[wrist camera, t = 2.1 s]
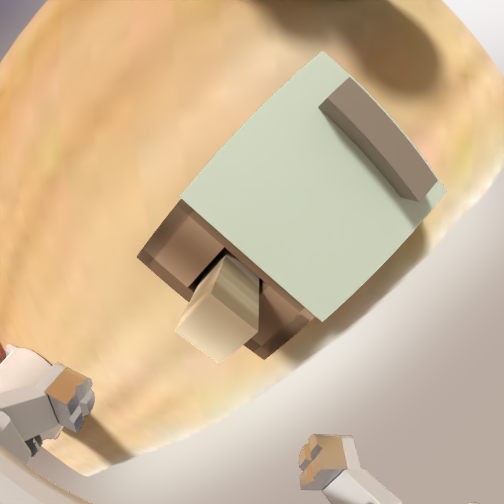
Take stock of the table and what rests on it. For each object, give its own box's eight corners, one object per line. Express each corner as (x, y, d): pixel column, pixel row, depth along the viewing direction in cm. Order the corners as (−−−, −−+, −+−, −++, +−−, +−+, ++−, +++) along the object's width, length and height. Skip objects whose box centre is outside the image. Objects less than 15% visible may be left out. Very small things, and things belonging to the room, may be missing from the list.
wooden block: (236, 283, 26) (219, 364, 15) (210, 261, 26) (174, 331, 14) (259, 259, 26) (258, 331, 14) (233, 236, 25) (210, 293, 14)
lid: (319, 315, 20) (329, 341, 17) (183, 195, 18) (166, 201, 15) (439, 189, 17) (467, 195, 14) (319, 55, 15) (330, 34, 12)
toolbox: (263, 318, 29) (264, 360, 22) (165, 235, 26) (136, 256, 20) (401, 178, 24) (441, 184, 17) (308, 80, 22) (323, 52, 15)
